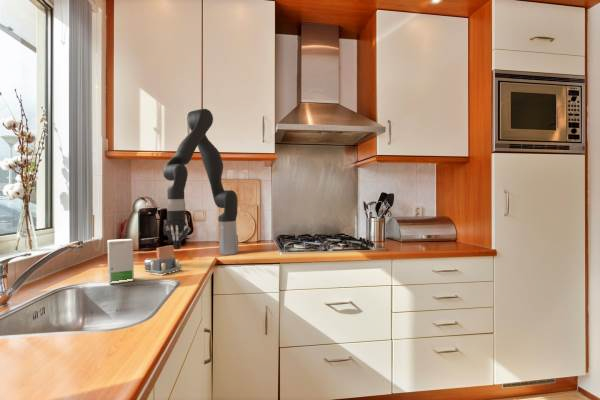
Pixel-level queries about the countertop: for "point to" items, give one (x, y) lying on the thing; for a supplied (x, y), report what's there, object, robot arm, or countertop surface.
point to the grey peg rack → (161, 254)
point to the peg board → (164, 268)
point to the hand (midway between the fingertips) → (177, 248)
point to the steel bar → (168, 261)
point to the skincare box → (120, 259)
